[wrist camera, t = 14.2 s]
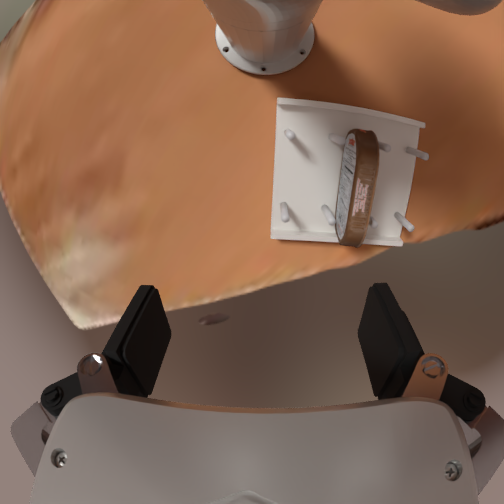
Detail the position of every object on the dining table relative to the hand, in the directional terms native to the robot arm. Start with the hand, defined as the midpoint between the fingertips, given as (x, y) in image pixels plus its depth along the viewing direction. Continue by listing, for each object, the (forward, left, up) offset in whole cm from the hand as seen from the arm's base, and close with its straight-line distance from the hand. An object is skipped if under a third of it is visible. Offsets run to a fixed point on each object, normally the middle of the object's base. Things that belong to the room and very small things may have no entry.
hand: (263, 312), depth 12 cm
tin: (0, +11, -27) cm, 29 cm away
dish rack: (0, +11, -28) cm, 30 cm away
